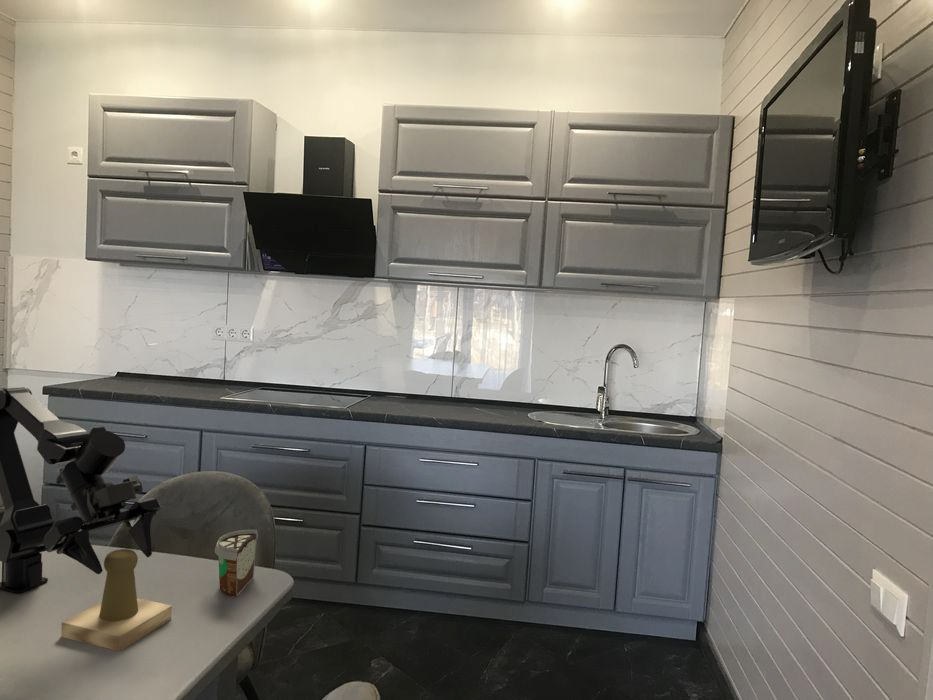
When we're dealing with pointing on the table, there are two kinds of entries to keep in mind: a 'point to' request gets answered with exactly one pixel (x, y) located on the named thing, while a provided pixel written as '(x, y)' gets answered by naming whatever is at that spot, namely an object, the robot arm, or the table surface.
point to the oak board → (115, 625)
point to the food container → (236, 560)
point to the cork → (119, 586)
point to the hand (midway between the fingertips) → (126, 564)
